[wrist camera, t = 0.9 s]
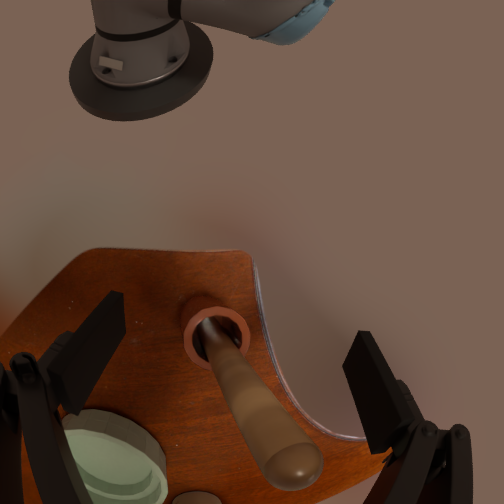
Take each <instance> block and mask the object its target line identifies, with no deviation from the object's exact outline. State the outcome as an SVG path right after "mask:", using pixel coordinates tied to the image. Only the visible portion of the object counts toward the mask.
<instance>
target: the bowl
mask: <svg viewBox="0 0 504 504" xmlns="http://www.w3.org/2000/svg"><path fill="white" fill-rule="evenodd" d="M62 425H63V428H64V431H65V435H66V438H67V441H68V444H69V447H70V449H71V452H72V455H73V458H74V460H75V463H76V465H77V468H78V470H79V473H80V475H81V477H82V480H83V482H84V484H85V486H86V489H87V491H88V493H89V495H90V497H91V499H92V501H93V503H94V504H162V503H163V502H164V500H165V498H166V496H167V494H168V484H167V470H166V457H165V455H164V453H163V451H162V449H161V447H160V445H159V443H158V442H157V441H156V440H155V439H154V438H153V437H152V436H151V435H150V434H149V433H148V432H147V431H146V430H145V429H143V428H142V427H140V426H139V425H137V424H136V423H134V422H133V421H131V420H129V419H127V418H124V417H122V416H119V415H117V414H114V413H112V412H107V411H101V410H96V409H87V410H81V412H80V414H79V415H78V416H76V415H74V414H71V413H70V414H68V415H66V416H65V417H64V418H63V419H62Z"/></svg>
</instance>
